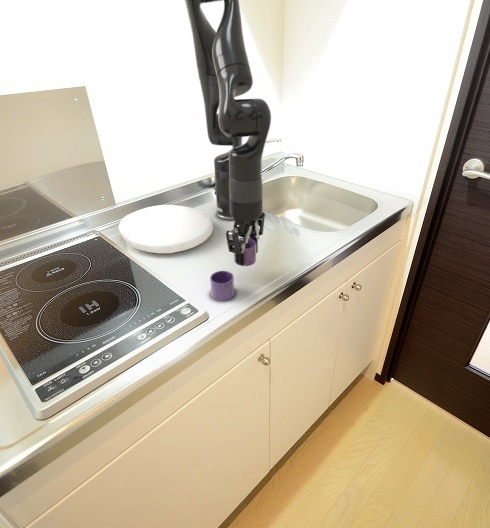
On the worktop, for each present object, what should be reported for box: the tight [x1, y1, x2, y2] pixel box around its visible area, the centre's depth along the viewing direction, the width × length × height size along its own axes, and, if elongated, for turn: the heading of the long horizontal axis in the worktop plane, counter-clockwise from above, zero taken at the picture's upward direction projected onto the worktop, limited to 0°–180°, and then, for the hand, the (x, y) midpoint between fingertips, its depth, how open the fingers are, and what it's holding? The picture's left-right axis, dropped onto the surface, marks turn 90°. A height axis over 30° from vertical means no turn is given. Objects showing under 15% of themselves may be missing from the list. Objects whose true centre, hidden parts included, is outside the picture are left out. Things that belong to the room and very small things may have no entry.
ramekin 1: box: [209, 270, 235, 302], centre depth 89 cm, size 6×6×5 cm
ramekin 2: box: [233, 237, 257, 267], centre depth 91 cm, size 6×6×5 cm
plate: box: [118, 204, 214, 254], centre depth 113 cm, size 28×6×27 cm
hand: (246, 258), depth 92 cm, fingers closed on ramekin 2, 5 cm apart
